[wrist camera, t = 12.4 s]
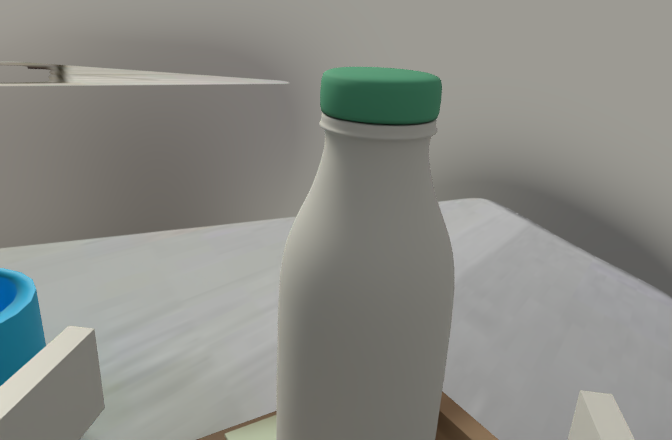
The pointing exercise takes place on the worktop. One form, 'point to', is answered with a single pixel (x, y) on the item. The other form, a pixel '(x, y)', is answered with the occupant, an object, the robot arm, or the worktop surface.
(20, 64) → the worktop surface
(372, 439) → the milk bottle
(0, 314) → the mug
